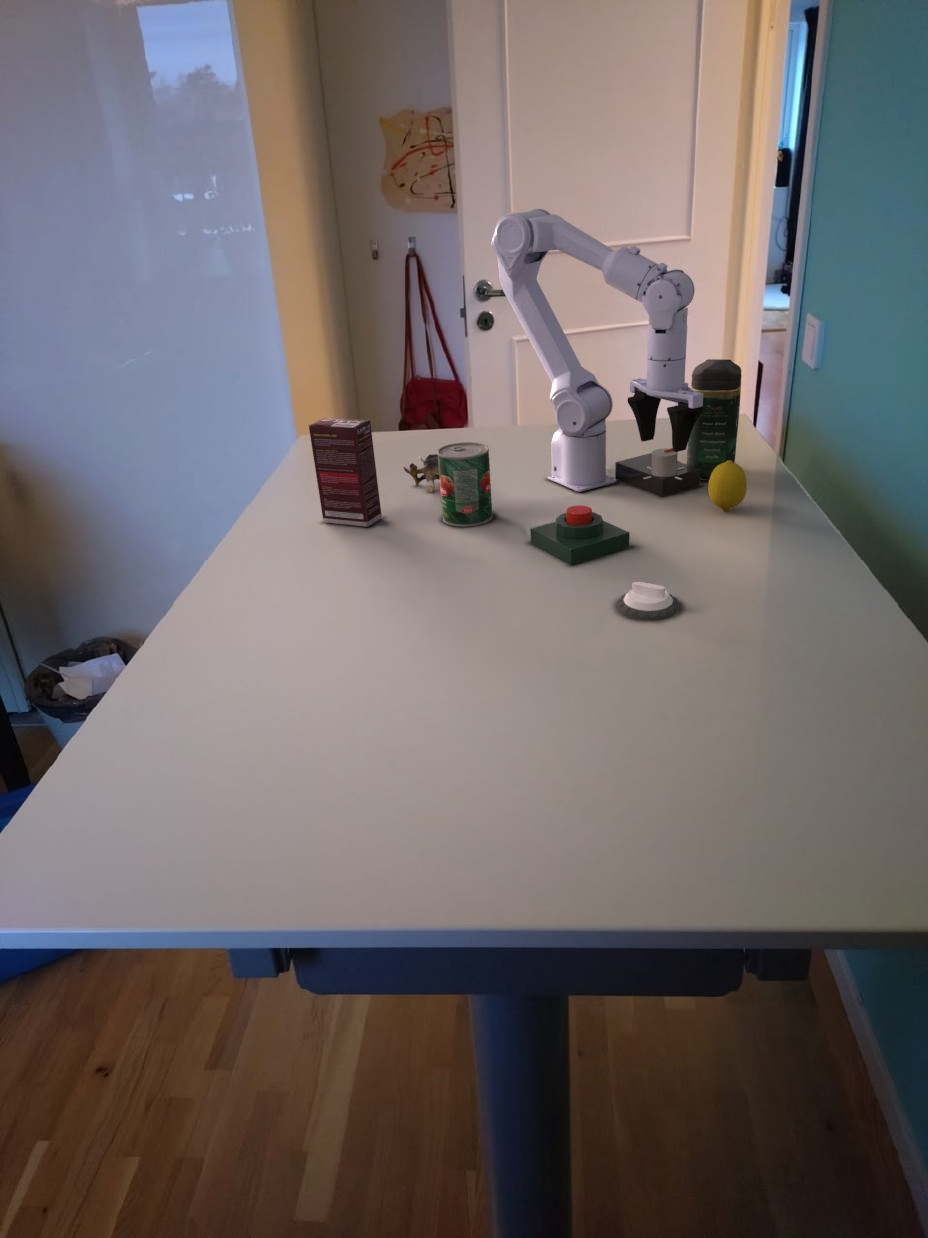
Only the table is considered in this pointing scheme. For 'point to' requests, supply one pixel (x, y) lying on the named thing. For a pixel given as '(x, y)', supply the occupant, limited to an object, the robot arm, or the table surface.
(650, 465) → the rotary knob box
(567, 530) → the control block
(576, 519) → the button
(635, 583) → the stove knob
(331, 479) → the supplement box
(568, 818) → the table surface
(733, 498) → the lemon
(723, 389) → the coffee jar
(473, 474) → the canned tomato
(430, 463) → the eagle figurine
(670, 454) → the dial
